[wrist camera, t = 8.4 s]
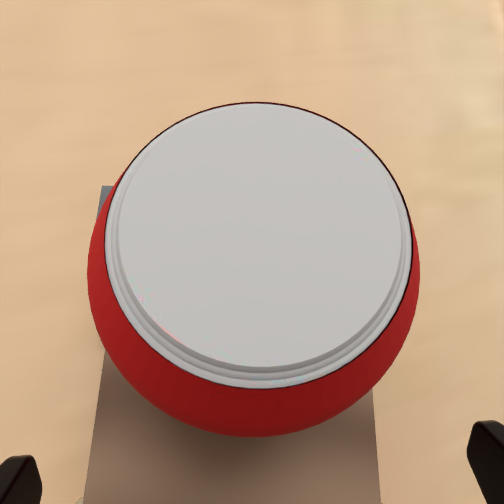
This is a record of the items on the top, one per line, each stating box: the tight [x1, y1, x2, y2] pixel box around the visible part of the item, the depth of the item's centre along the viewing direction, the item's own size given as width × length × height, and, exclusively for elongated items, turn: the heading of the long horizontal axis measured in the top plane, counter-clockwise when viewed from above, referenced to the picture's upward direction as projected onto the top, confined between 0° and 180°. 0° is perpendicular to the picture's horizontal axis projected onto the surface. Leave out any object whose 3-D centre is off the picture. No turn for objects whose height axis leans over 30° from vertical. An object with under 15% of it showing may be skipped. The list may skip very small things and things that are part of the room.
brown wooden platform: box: [76, 186, 382, 504], centre depth 17 cm, size 16×13×8 cm
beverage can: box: [87, 102, 420, 437], centre depth 12 cm, size 6×6×12 cm
